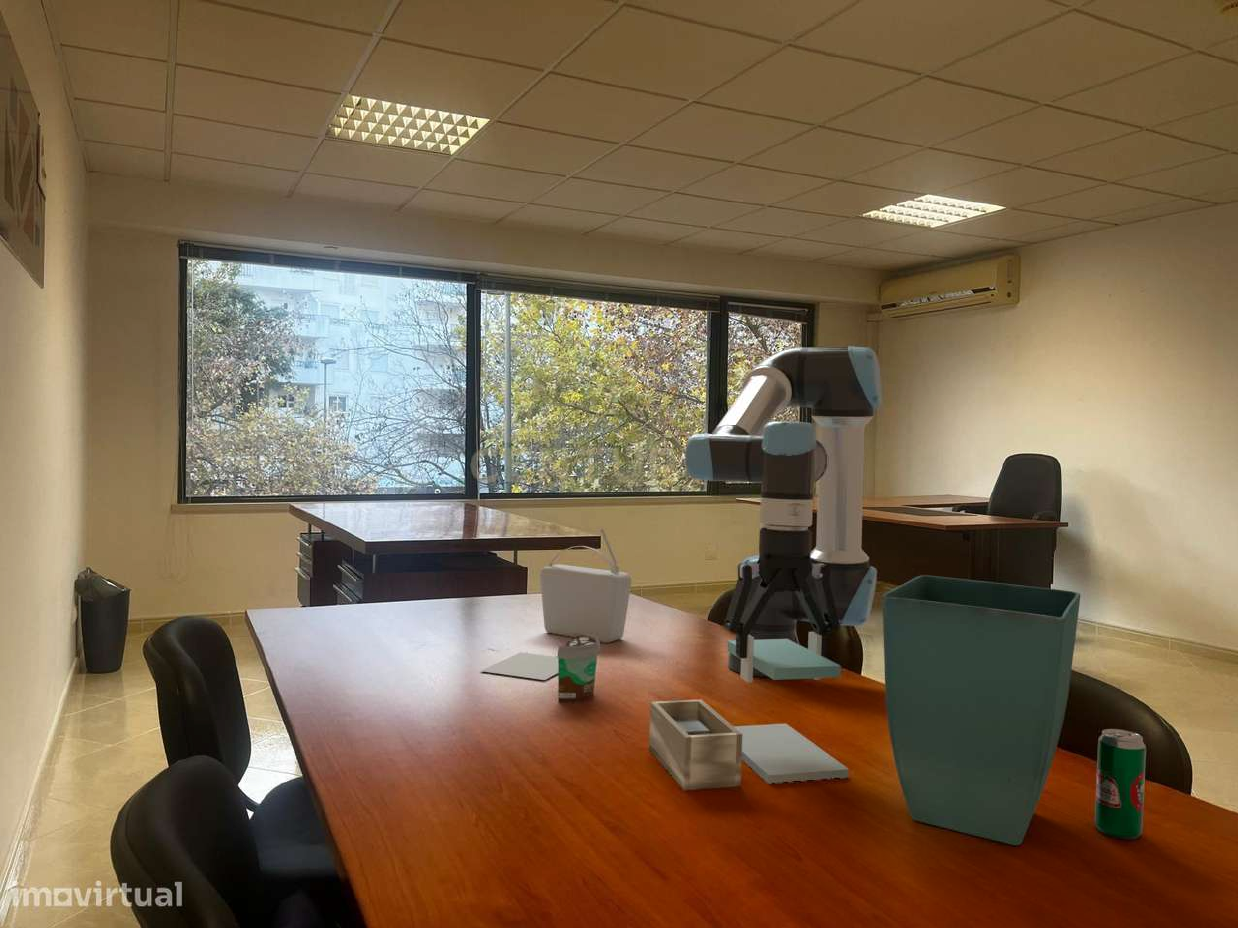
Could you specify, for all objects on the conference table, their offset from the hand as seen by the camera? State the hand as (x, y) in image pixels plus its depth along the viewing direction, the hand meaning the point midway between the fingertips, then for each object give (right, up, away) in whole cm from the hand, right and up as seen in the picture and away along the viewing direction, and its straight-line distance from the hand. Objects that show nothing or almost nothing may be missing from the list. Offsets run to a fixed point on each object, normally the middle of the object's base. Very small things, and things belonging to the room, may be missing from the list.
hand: (780, 678), depth 132 cm
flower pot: (+21, -13, -20) cm, 31 cm away
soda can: (+37, -13, -23) cm, 45 cm away
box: (-13, -11, -5) cm, 18 cm away
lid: (0, +2, 0) cm, 2 cm away
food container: (-30, -10, +28) cm, 42 cm away
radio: (-32, -8, +76) cm, 83 cm away
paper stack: (-44, -9, +52) cm, 69 cm away
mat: (0, -11, 0) cm, 11 cm away
